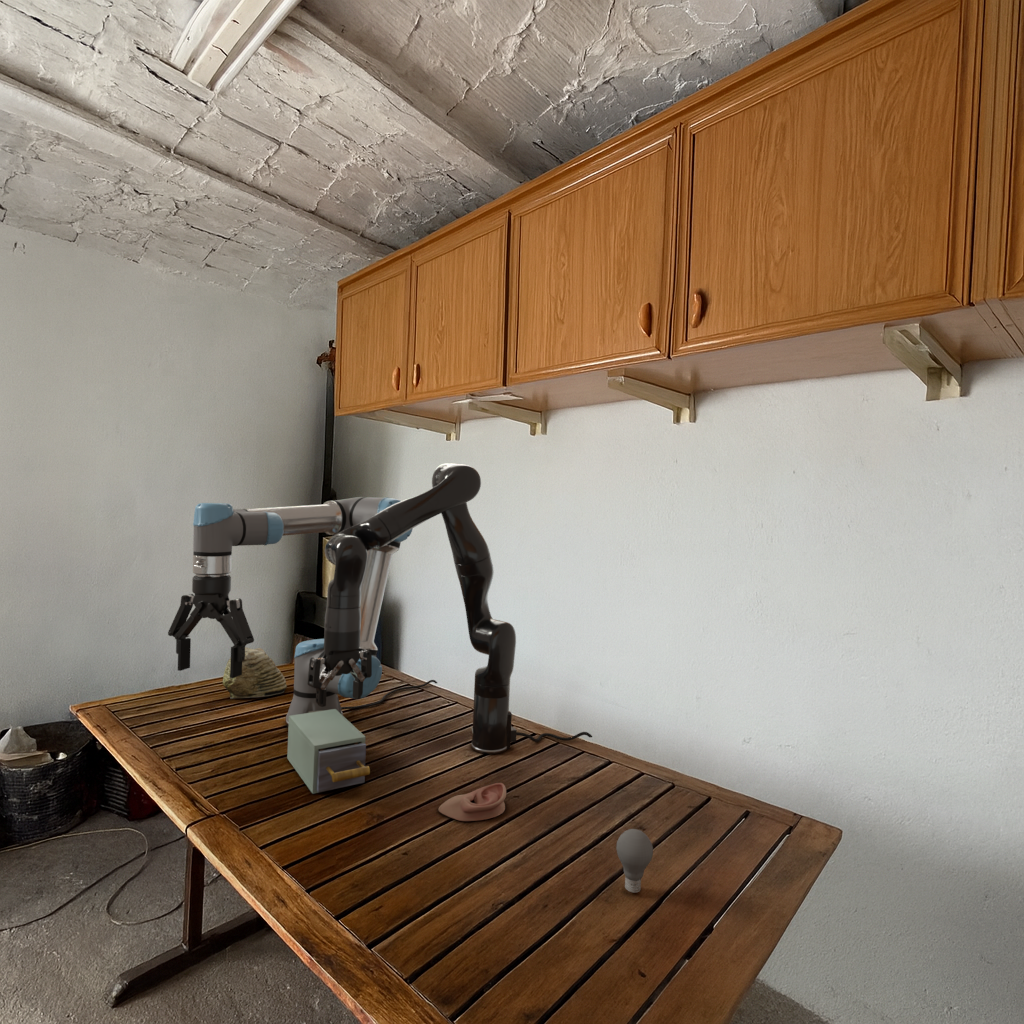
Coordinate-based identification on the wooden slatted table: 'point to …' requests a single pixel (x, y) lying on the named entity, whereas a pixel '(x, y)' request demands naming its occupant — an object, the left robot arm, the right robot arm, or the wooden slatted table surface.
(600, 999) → the wooden slatted table surface
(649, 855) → the light bulb
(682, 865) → the wooden slatted table surface
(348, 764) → the drawer
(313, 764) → the cabinet
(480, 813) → the anatomical model
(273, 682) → the fossil
